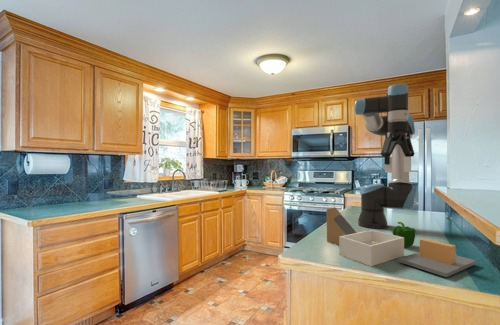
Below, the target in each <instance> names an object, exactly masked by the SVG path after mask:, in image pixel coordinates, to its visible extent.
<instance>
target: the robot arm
mask: <svg viewBox="0 0 500 325" xmlns="http://www.w3.org/2000/svg"><path fill="white" fill-rule="evenodd" d="M354 113H355V115H357V116H358V115H359V116H362V117H363V119H364V125H365V129H366V130H367V131H369V132H370V133H371V134H374V135H377V136H383V137H384V141H383V145H382V148H381V151H380V155H381V157H383V158H384V173H386V174H387V173H388V174H391V180H390V182H388V183H387V184H388V186H385V185H384V183H373V184H372V183H371V184H365V185H363V186H361V191H360V196H361V199H360V201H361V202H360V203H361V204H360V205H361V206H360V208H361V210H360V214H359V217H358V220H357V225H358V226H359V227H362V228H363V227H364V228H368V229H385V228H388V221H387V218H386V215H385V208H386V209H397V210H398V209H399V210H400V209H401V210H411V209H413V208H414V205H415V198H416V187H414V184H413V183H412V182H411V181H410V173H411V172H412V157H413V158H414V156H415V150H414V147H413V143H412V140H411V139H412V138H413V135H415V134H416V128H415V121H414V117H413V115H412V114H411V113H409V85H408V84H406V83H395V84H392V85H389V86H388V88H387V95H384V96H383V95H382V96H375V97H373V96H372V97H366V98H365V97H362V98H358V99H356V100H355V101H354ZM383 113H386V114H387V115H381V114H383ZM380 115H381V116H380Z"/></svg>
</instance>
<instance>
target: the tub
mask: <svg viewBox="0 0 500 325" xmlns="http://www.w3.org/2000/svg"><path fill="white" fill-rule="evenodd" d="M367 230H368V231H367ZM367 230H364V231H360V232H357V233H354V234H349V235H344V236H340V237H339V245H338V252H339V253H338V255H339V256H343V257H345V258H348V259H351V260H353V261H355V262H358V263H361V264H365V265H367V266H369V267H373V266H376V265H377V266H378V265H380V264H382V263H385V262H389V261H391V260H392V261H393V260H395V258H396V259H399V258H402V257H405V247H404V237H400V236H396V235H393V234H391V233H387V232H383V231H379V230H375V229H367ZM401 256H402V257H401ZM398 257H399V258H398Z"/></svg>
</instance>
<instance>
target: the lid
mask: <svg viewBox="0 0 500 325" xmlns="http://www.w3.org/2000/svg"><path fill="white" fill-rule="evenodd" d="M456 248H457V247H456V245H455V244H450V243H446V242H443V241H442V242H441V241H438V240H433V239H428V238H426V237H425V238H420V239H419V251H418V252H414V253H412V254H408V255H404V256H402V257H399V258H398V263H401V264H405V265H408V266H410V267H414V268H416V269H419V270H422V271H426V272H429V273H432V274H434V275H439V276H440V277H445V278H448V277H450V276H452V275H455V274H458V273H460V272H461V271H464V270H467V269H468V268H470V267H472V266H476V265H477V260H476V259H472V258H468V257H464V256H462V255H456V254H457V253H456V250H457V249H456Z"/></svg>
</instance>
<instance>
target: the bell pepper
mask: <svg viewBox="0 0 500 325" xmlns="http://www.w3.org/2000/svg"><path fill="white" fill-rule="evenodd" d="M397 224H398V225H397V226H393V228H392V229H391V230H392V235H396V236H400V237H404V248H410V247H412V246H413V245H414V242H415V239H416V230H415V228H414V227H410V226H405V224H404V223H403V222H402V221H397Z"/></svg>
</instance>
